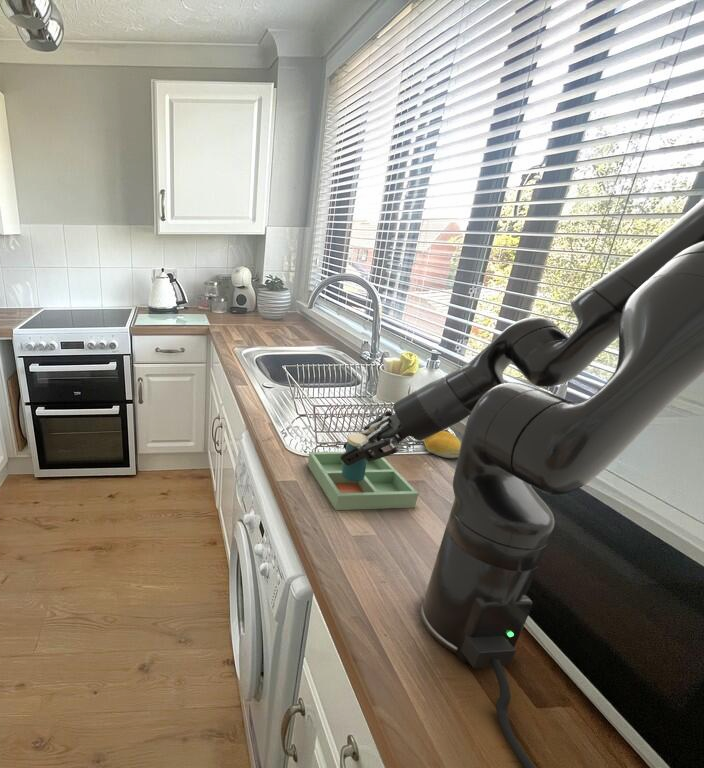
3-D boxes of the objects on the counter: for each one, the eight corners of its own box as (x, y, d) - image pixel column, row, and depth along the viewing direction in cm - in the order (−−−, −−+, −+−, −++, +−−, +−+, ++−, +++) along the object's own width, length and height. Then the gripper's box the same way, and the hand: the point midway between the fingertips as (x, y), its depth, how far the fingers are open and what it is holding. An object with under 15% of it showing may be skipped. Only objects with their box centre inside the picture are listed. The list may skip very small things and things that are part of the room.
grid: (415, 507, 77) (418, 493, 76) (335, 510, 76) (338, 495, 75) (374, 463, 92) (377, 450, 91) (307, 465, 90) (309, 452, 89)
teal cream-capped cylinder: (367, 481, 77) (375, 443, 74) (347, 482, 77) (353, 444, 74) (358, 469, 81) (364, 432, 78) (338, 469, 80) (344, 433, 77)
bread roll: (428, 456, 95) (431, 441, 94) (419, 438, 103) (423, 424, 102) (468, 462, 93) (473, 447, 91) (456, 444, 101) (460, 429, 99)
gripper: (450, 445, 63) (353, 490, 72) (442, 410, 75) (360, 453, 84) (418, 407, 63) (326, 457, 72) (416, 378, 75) (337, 424, 84)
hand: (345, 454), depth 78 cm, fingers closed on teal cream-capped cylinder, 4 cm apart
